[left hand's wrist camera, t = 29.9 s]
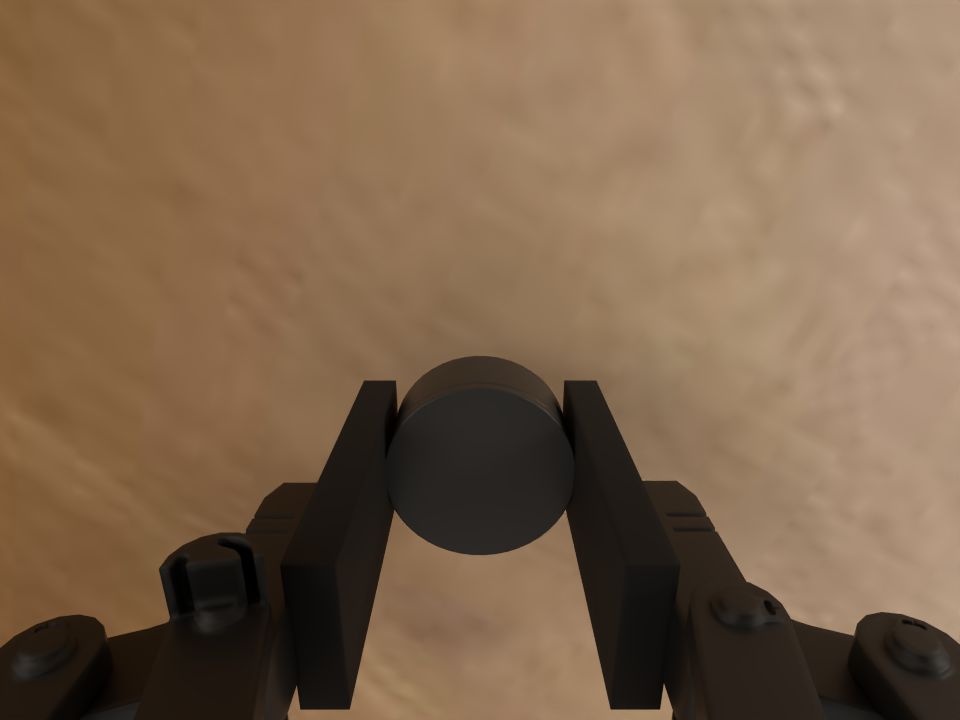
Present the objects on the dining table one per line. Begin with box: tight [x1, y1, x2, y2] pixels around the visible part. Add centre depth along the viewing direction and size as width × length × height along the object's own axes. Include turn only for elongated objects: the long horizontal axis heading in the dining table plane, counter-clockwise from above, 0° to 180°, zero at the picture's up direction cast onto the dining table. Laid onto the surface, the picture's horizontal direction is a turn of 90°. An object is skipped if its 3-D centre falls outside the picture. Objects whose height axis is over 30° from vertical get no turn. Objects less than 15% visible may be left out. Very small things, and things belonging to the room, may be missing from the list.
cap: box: [386, 356, 575, 555], centre depth 14 cm, size 4×4×2 cm
